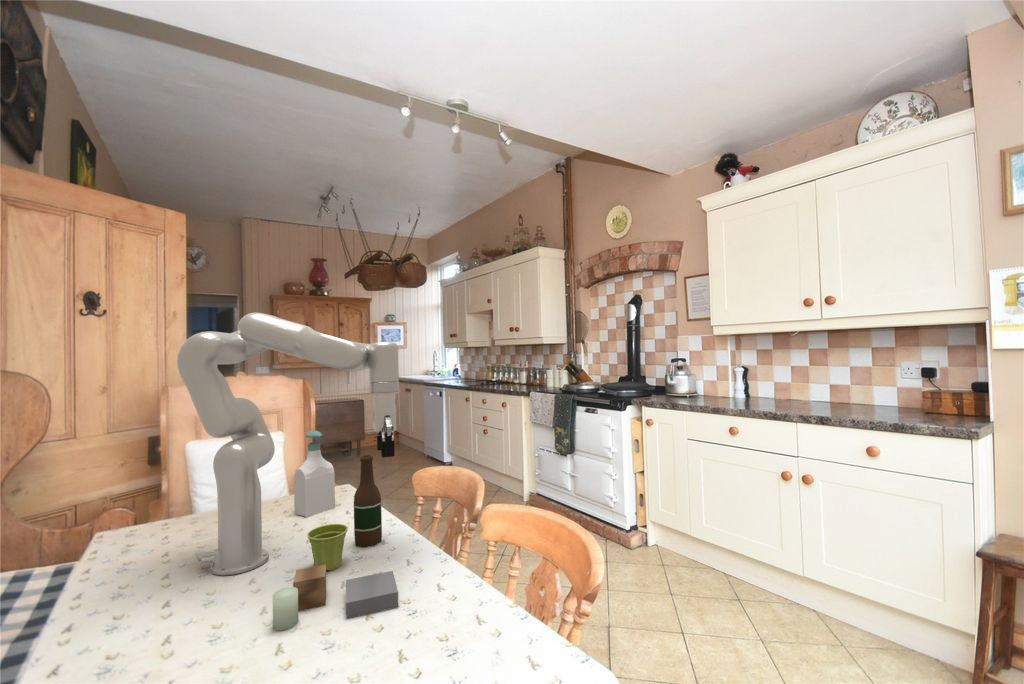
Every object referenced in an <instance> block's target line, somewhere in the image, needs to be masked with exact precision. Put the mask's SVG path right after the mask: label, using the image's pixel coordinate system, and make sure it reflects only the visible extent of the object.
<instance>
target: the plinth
mask: <svg viewBox="0 0 1024 684" xmlns="http://www.w3.org/2000/svg"><path fill="white" fill-rule="evenodd" d="M394 573H395V572H394V571H393V570H389V571H385V572H378V573H374V574H368V575H365V576H364V575H363V576H359V577H355V578H354V577H353V578H350V579H349V578H348V579H345V617H346V620H347V619H351V618H356V617H359V616H364V615H367V614H368V615H369V614H372V613H377V612H378V613H379V612H381V611H385V610H387V611H388V610H390V609H391V610H392V609H395V608H398V607H399V591H398V590H399V589H398V586H397V582H396V578H395V574H394Z"/></svg>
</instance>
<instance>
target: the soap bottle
mask: <svg viewBox="0 0 1024 684" xmlns="http://www.w3.org/2000/svg"><path fill="white" fill-rule="evenodd" d="M324 437H325V434H323V433H322V432H320V431H318V430H311V431H309V432H308V433H307V434H306V435H305V438H308V439H309V438H311V442H309V443H308V445H307V457H306V459H305V460H304V462H303V463H302V465H301V466H300V467H299V468H297V469H296V470H295V472H294V474H293V475H294V476H293V494H294V497H293V501H294V506H293V507H294V509H293V510H294V514H295V515H298V516H301V517H305V518H309V517H313V516H315V515H317V514H321V513H324V512H327V511H329V510H333V509H335V507H336V491H335V490H336V489H335V488H336V486H335V485H336V483H335V482H336V481H335V480H336V479H335V478H336V477H335V468H334V466H333V464H332V463H331V462H329V461H327V460H326V459H325V458H324V457H323V456H322V451H321V443H320V442H318V441H317V438H320V439H321V438H324ZM332 508H333V509H332Z"/></svg>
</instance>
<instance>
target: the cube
mask: <svg viewBox="0 0 1024 684" xmlns="http://www.w3.org/2000/svg"><path fill="white" fill-rule="evenodd" d="M292 584H293V585H292V587H296V588H297V589H298V612H301V611H306V610H310V609H315V608H320V607H324V606H326V604H327V591H328V589H327V570H326V564H325V565H320V566H309V567H304V568H299V569H295V574H294V577H293V583H292Z"/></svg>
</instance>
